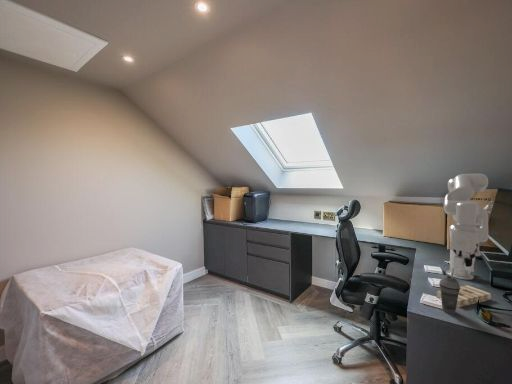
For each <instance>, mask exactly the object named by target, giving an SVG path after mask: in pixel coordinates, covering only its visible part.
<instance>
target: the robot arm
mask: <svg viewBox="0 0 512 384" xmlns="http://www.w3.org/2000/svg"><path fill="white" fill-rule="evenodd" d="M488 186H489V179H488V176H487V175H486V174H485V173H460V174H457V175H456V176H455V177H454V178H449V180H448V181H447V190H448V192H447V194H446V195H445V196H444V198H443V210H444V212H445V214H447V215H450V216H452V219H453V221H455V223H453V224H451V225H450V226H449V227H448V234H449V240H450V241H449V242H450V245H449V249H450V250H449V261H450V264H449V269H448V270H446V275H447V276H450V277H451V274H452V269H453V268H454V266H455V262H454V257H456V256H463V255H467V258H466V267H470V266H472V258H474V257H475V258H476V257H479V256H482V252H481V251H480V243H485V242H487V241H488V240H489V215H488V211H487V210H486V209H485V208H483V207H481V205H480V204H479V203H478V202H477V201H474V200H473V201H472V200H471V198H472V197H473V196H474V195H475V193H476V192H478V193H480V192H481V193H482V192H484V191H486V189H487V188H488ZM464 264H465V263H464ZM472 272H473V273H474V272H475V270H474V271H468V270H465V269H464V272H463V273H459V272H456V271H453V278H455V279H459V280H464V281H465V280H466V281H467V280H473V279H474V275H473V274H471V273H472Z"/></svg>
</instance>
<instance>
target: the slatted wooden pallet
mask: <svg viewBox="0 0 512 384" xmlns="http://www.w3.org/2000/svg"><path fill="white" fill-rule="evenodd" d="M491 296H492V294H491V293H489V292H487V291H485V290H482V289H479V288H476V287H473V286H470V285H468V284H467V285H460V291H459V293H458V300H457V306H456V308H457V307H458V308H461V307H462V308H463V307H466V306H469V305H473V304H478V303H477V302H478V300H479V303H483V302H487V301H490V300H492V299H491V298H492V297H491ZM437 297H439V298H438V299H440V298H441V290H437V291H436V298H437Z"/></svg>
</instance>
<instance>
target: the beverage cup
mask: <svg viewBox="0 0 512 384" xmlns="http://www.w3.org/2000/svg"><path fill="white" fill-rule="evenodd" d="M453 271H454V268H453V269H452V274H451V276H449V275H447V276H443V277H441V279H440V280H439V284H438V285H439V289H440V291H441V299H440V300H441V301H440V302H441V308H442V311H443V312H444V313H445V314H448V315H455V314H456V313H457V312H456V310H457V300H458V293H459V291H460V287H461V285H460V283H459V281H458V280H457V278H455V277H453Z"/></svg>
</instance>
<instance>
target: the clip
mask: <svg viewBox="0 0 512 384" xmlns="http://www.w3.org/2000/svg"><path fill="white" fill-rule="evenodd" d="M466 258H467V255H463V256H456V257H454V262H455V266H454V271H456V272H459V273H463V272H464V269H465V270H468V271H474V272H475V269H474V268H475V267H474V265H475V262H476V257H474V258H472V266H470V267H466ZM464 263H465V264H464Z"/></svg>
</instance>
